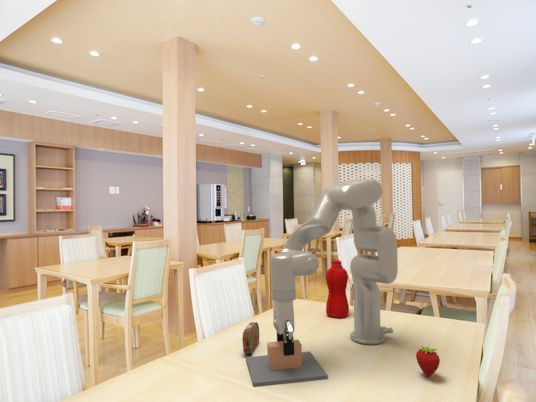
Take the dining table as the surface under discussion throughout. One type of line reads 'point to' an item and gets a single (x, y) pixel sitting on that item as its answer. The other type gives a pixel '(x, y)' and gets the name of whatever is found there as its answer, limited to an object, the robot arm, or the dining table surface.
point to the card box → (279, 360)
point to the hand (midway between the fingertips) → (285, 348)
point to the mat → (284, 371)
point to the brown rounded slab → (250, 338)
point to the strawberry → (428, 360)
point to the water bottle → (337, 291)
